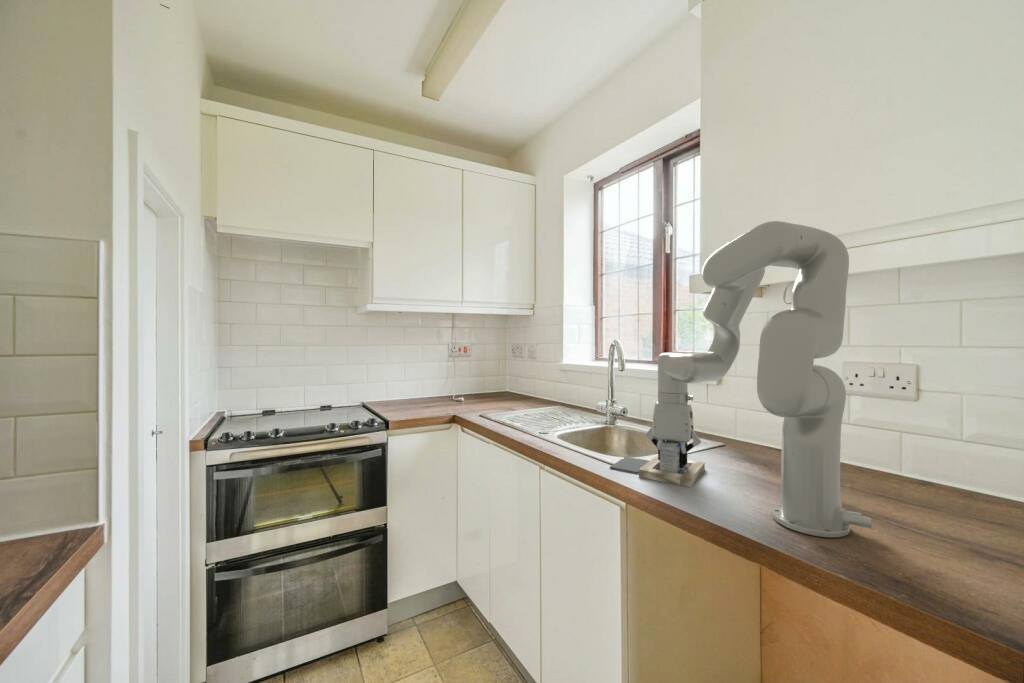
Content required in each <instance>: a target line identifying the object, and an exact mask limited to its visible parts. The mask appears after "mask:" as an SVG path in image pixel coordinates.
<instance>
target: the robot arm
mask: <svg viewBox="0 0 1024 683" xmlns="http://www.w3.org/2000/svg"><path fill="white" fill-rule="evenodd" d="M849 257H850V255H849V252H848V249H847V247H846V245H845V243H844V242H843V241H842V240H841V239H840V238H839V237H838V236H836V235H834V234H832V233H830V232H828V231H826V230H823V229H819V228H815V227H812V226H808V225H802V224H799V223H798V224H795V223H791V222H785V221H779V220H773V221H767V222H764V223H761V224H758V225H757V226H755V227H753V228H751V229H749V230H748V231H746V232H744V233H742V234H741V235H739V236H738V237H736V238H734V239H733V240H731V241H729V242H727V243H726V244H724V245H723V246H721V247H720V248H718V249H716V250H715V251H714V252H713V253H711V254H710V256H709V257H708V258H707V259H706V261H705V262H704V264H703V266H702V270H701V276H702V280H703V282H704V284H706V286H708V287H710V288H713V289H712V291H711V293H710V295H709V298H708V300H707V302H706V303H705V306H704V308H703V310H702V315H703V317H704V318H705V319H706V320H707V321H708V322H710V323H711V324H712V326H713V327H714V336H713V339H712V342H711V344H710V346H709V348H708V350H707V352H694V353H681V352H662V353H660V354H659V355H658V358H657V401H655V404H654V407H653V408H654V409H653V415H652V426H651V427H650V429H649V430H648V431H647V432H646V433H645V437H646V438H647V439H649V441H651V443H652V444H653V445H654V447H656V449H657V452H658V454H657V455H658V460H660V444H661V443H663V442H665V441H666V440H670V441H677V442H679V443H680V447H681V453H680V468H683V467H684V466H685V465H687V460H688V453H689V451H691V450H692V449H693V448H695V447H697V446H699V445H701V443H702V440H701V439H700V437H699V435H697V433H696V432H695V425H694V424H695V423H694V416H693V413H694V412H693V408H692V404H691V403H688V402H691V401H694V395H690V394H689V392H688V389H689V388H688V387H689V386H688V384H699V383H705V382H706V383H707V382H716V381H720V380H721V379H723V378H724V377H725V376H726V374H728V372H729V370H731V367H732V366H733V363H734V362H735V360H736V358H737V356H738V354H739V352H740V347H741V346H740V345H741V330H740V324H741V322H742V320H743V317H744V316H745V314H746V312H747V310H748V307H749V306H750V304H751V302H752V300H753V298H754V296H755V294H756V292H757V291H758V288H760V284H761V282H762V281H763V278H764V277H765V272H766V268H767V267H770V266H771V267H780V268H781V267H782V268H793V269H796V270H798V271H799V272H798V275H797V277H796V279H795V281H794V284H793V288H792V292H791V296H792V297H791V307H790V309H786V310H782V311H779V312H777V313H775V314H774V315H772V316H771V317H770V318H769V319H768V320H767V321H766V322H765V324H764V325H763V328H762V330H761V333H760V336H759V337H760V339H759V344H758V345H759V346H758V349H759V350H758V361H757V362H758V363H757V376H756V392H757V397H758V400H759V402H760V404H761V405H762V407H763V408H764V409H765V411H767V412H768V413H770V414H771V415H774V416H775V417H778V418H784V419H783V422H782V427H781V428H782V429H781V430H782V431H781V461H780V462H781V464H780V465H781V469H780V470H781V476H780V477H781V478H780V479H781V480H780V481H781V484H780V486H781V488H780V493H781V494H780V495H781V496H780V498H781V499H780V500H781V501H780V503H781V504H780V505H777V506H775V507H773V508H772V513H771V514H772V515H771V516H772V518H773V519H774V520H775V521H776V522H777V523H778V524H780V525H782V526H783V527H786V528H788V529H790V530H793V531H796V532H798V533H802V534H805V535H810V536H813V537H814V536H815V537H819V538H820V537H821V538H833V539H834V538H842V537H845V536H848V535H849V534H850V532H851V525H854V526H857V527H859V528H866V529H869V530H872V518H871V517H867V516H862V513H861V512H856V511H850V510H846V509H847V508H843V505H842V504H843V503H842V502H841V448H842V447H841V441H842V440H841V437H842V435H841V434H842V425H843V424H842V423H843V417H844V411H845V407H846V399H847V391H846V390H847V389H846V386H845V383H844V381H843V379H842V378H841V376H840V375H839V374H838V373H836V371H834V370H832V369H831V368H828V367H826V366H822V365H819V364H817V365H816V364H814V361H815V360H816V359H823V358H827V357H830V356H833V355H834V354H835V353H836V352H838V351H839V349H840V347H841V346H842V343H843V340H844V339H843V338H844V331H845V330H844V329H845V326H844V325H845V316H846V301H847V286H848V278H849V277H848V276H849V269H850V258H849ZM691 440H693V441H692V442H690V441H691ZM688 442H690V443H688Z"/></svg>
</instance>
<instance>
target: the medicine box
mask: <svg viewBox="0 0 1024 683" xmlns="http://www.w3.org/2000/svg"><path fill="white" fill-rule="evenodd" d="M680 453H681V447H680V443H679V442H677V441H670V440H665V442H663V443H661V444H660V469H659V470H662V471H667V472H672V473H678V474H683V472H685V471H686V469H685V466H684V467H683V468H680Z"/></svg>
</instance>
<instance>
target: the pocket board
mask: <svg viewBox="0 0 1024 683" xmlns="http://www.w3.org/2000/svg"><path fill="white" fill-rule="evenodd" d="M705 464H706V463H705V462H702V461H696V460H692V459H687V465H685V470H684V471H683V472H684V473H681V474H678V473H672V472H667V471H662V470H660V460H658V454H657V455H655V456H654V457H653V458H652V459H649V462H648V463H646V464H645V465H644V466H643V467H641V468H640V469H639V473H638V478H643V479H647V480H648V479H649V480H654V481H658V482H663V483H668V484H673V485H677V486H684V487H689V488H691V487H692V486H693V485H694V484H695V482H697V480H698V479H699V478H700V476H701V475H702V473H704V471H705V468H706V467H705Z"/></svg>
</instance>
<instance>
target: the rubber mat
mask: <svg viewBox="0 0 1024 683" xmlns="http://www.w3.org/2000/svg"><path fill="white" fill-rule="evenodd" d="M623 458H624V459H622V458H621V459H620V460H618V461H616V462H615V463H613V464H611V466H609V469H611V470H616V471H621V472H625V473H629V474H631V473H632V474H636V475H639V469H640V468H641V467H643V466H644V465H645V464H646V463H648V462H649V461H650V459H649V460H647V459H643V458H642V459H641V458H637V459H636V457H630V456H624V457H623Z"/></svg>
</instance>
